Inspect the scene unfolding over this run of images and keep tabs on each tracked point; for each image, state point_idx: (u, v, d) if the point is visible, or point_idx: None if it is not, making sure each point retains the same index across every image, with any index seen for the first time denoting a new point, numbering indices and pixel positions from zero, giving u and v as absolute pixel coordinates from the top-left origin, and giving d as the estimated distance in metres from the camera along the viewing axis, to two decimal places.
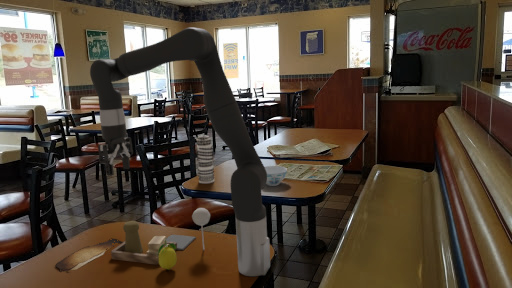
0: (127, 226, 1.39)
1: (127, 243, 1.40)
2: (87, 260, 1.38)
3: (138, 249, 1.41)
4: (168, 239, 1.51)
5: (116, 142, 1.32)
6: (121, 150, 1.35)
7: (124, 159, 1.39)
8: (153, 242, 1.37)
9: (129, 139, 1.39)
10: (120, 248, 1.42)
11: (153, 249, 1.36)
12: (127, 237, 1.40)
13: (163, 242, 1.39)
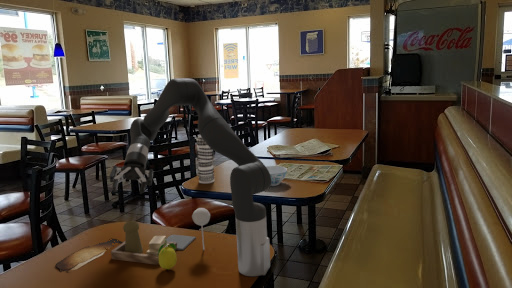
0: (127, 226, 1.39)
1: (127, 243, 1.40)
2: (87, 260, 1.38)
3: (138, 249, 1.41)
4: (168, 239, 1.51)
5: (130, 167, 1.46)
6: (135, 174, 1.44)
7: None
8: (153, 242, 1.37)
9: (150, 170, 1.47)
10: (120, 248, 1.42)
11: (154, 249, 1.36)
12: (127, 237, 1.40)
13: (163, 242, 1.39)
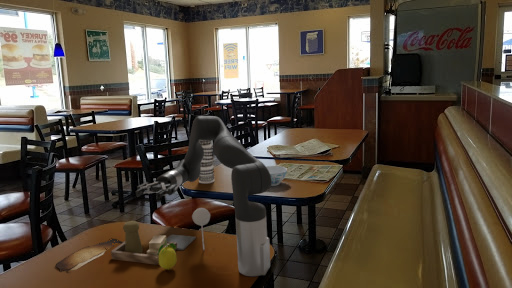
0: (127, 226, 1.39)
1: (127, 243, 1.40)
2: (87, 260, 1.38)
3: (138, 249, 1.41)
4: (168, 239, 1.51)
5: (159, 183, 1.60)
6: (159, 186, 1.56)
7: None
8: (154, 241, 1.37)
9: (174, 184, 1.57)
10: (120, 248, 1.42)
11: (154, 248, 1.36)
12: (127, 237, 1.40)
13: (163, 241, 1.39)
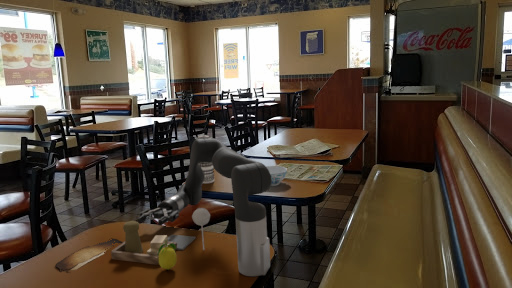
0: (127, 226, 1.39)
1: (127, 243, 1.40)
2: (87, 260, 1.38)
3: (138, 249, 1.41)
4: (168, 239, 1.51)
5: (160, 209, 1.61)
6: (161, 212, 1.57)
7: None
8: (155, 241, 1.37)
9: (176, 211, 1.58)
10: (120, 248, 1.42)
11: (155, 248, 1.37)
12: (127, 237, 1.40)
13: (165, 241, 1.39)
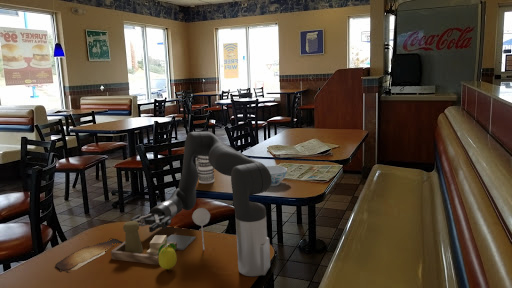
0: (127, 226, 1.39)
1: (127, 243, 1.40)
2: (87, 260, 1.38)
3: (138, 249, 1.41)
4: (168, 239, 1.51)
5: (152, 215, 1.55)
6: (153, 219, 1.52)
7: None
8: (154, 241, 1.37)
9: (168, 217, 1.53)
10: (120, 248, 1.42)
11: (155, 248, 1.37)
12: (127, 237, 1.40)
13: (164, 241, 1.40)
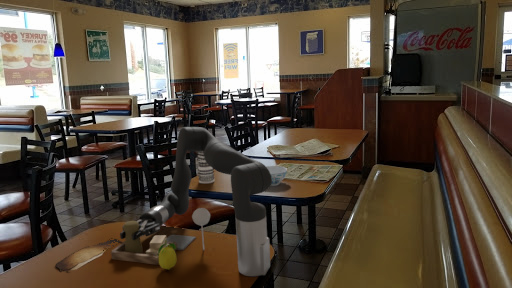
0: (127, 226, 1.39)
1: (127, 243, 1.40)
2: (87, 260, 1.38)
3: (138, 249, 1.41)
4: (168, 239, 1.51)
5: (142, 221, 1.49)
6: (141, 224, 1.46)
7: None
8: (154, 241, 1.37)
9: (156, 224, 1.46)
10: (120, 248, 1.42)
11: (155, 248, 1.37)
12: (127, 237, 1.40)
13: (164, 241, 1.40)
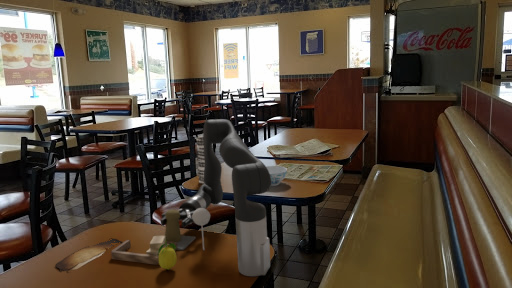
0: (169, 214, 1.46)
1: (168, 230, 1.47)
2: (87, 260, 1.38)
3: (177, 236, 1.48)
4: None
5: (183, 210, 1.55)
6: (184, 214, 1.51)
7: None
8: (154, 242, 1.37)
9: None
10: (120, 248, 1.42)
11: (155, 249, 1.36)
12: (168, 224, 1.47)
13: (164, 241, 1.39)
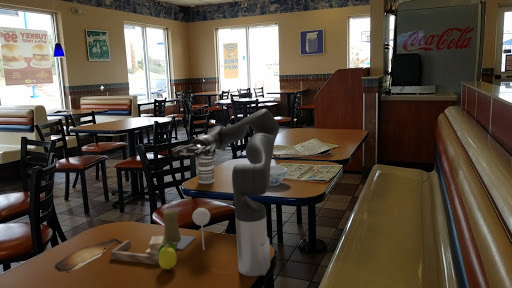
0: (167, 215, 1.46)
1: (167, 231, 1.47)
2: (87, 260, 1.38)
3: (177, 237, 1.48)
4: None
5: (194, 146, 1.63)
6: (195, 147, 1.59)
7: None
8: (154, 242, 1.37)
9: (209, 146, 1.60)
10: (120, 248, 1.42)
11: (154, 249, 1.36)
12: (167, 225, 1.47)
13: (163, 241, 1.39)
